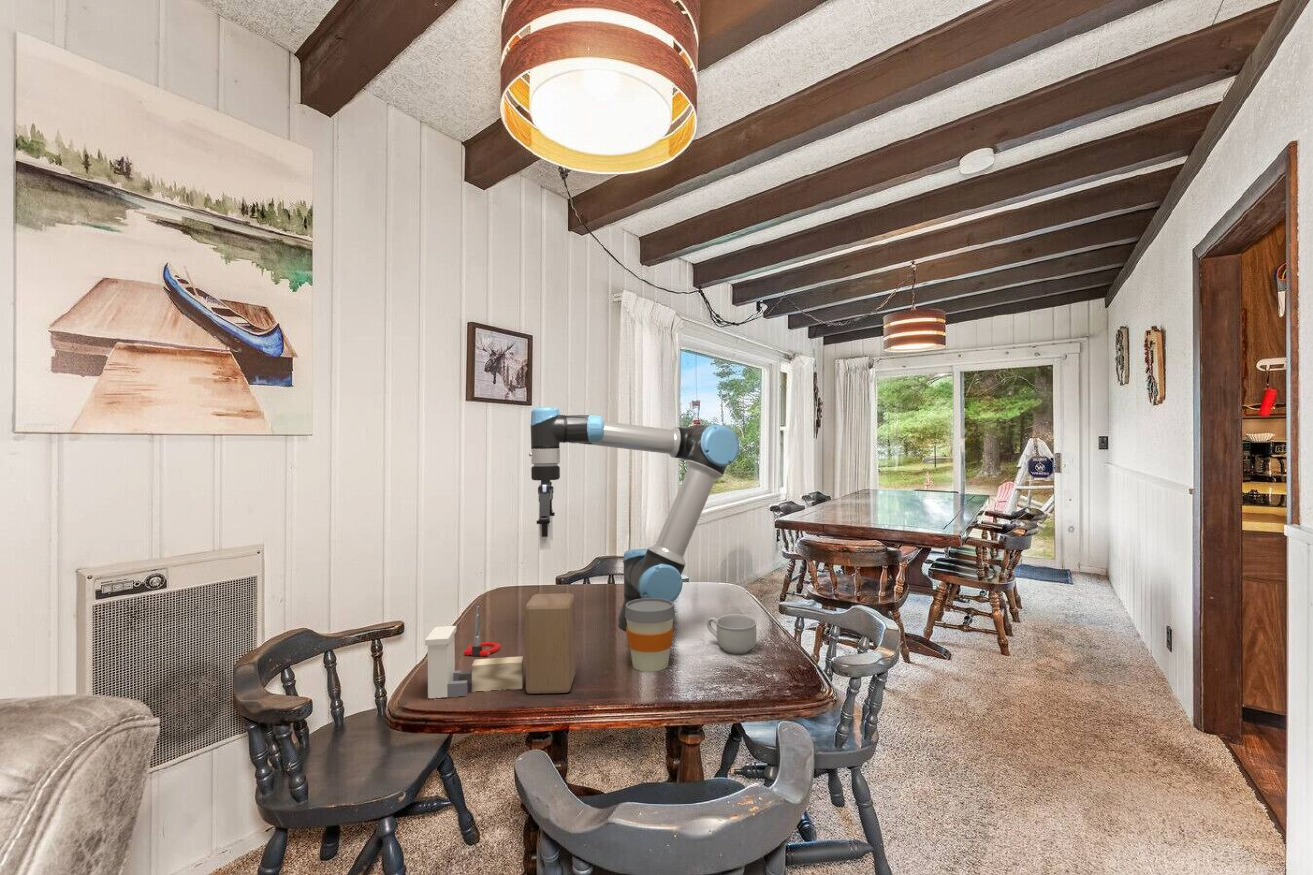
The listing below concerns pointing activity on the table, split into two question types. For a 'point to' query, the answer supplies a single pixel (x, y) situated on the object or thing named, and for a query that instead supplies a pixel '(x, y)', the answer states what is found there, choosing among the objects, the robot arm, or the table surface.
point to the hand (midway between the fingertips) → (546, 544)
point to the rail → (494, 674)
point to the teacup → (734, 632)
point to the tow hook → (477, 646)
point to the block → (550, 643)
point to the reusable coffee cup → (650, 632)
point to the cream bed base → (443, 664)
